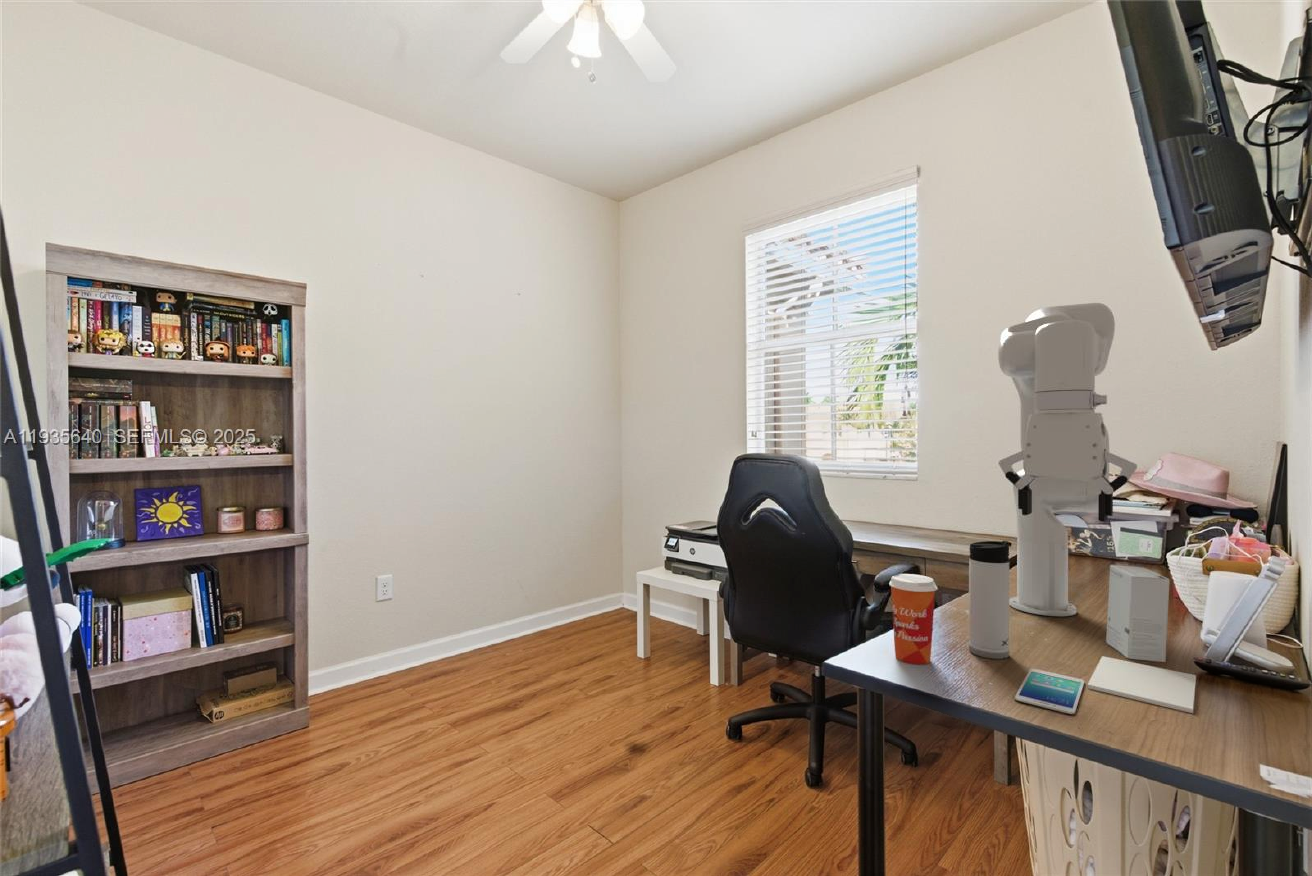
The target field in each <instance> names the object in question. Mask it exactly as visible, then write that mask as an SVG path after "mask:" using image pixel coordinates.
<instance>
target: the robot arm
mask: <svg viewBox="0 0 1312 876" xmlns="http://www.w3.org/2000/svg"><path fill="white" fill-rule="evenodd" d="M1115 322H1116V321H1115V317H1114V314H1113V312H1112V310H1111V308H1109V307H1108V306H1107V305H1106V304H1104V303H1100V302H1089V303H1078V304H1077V303H1076V304H1066V305H1054V306H1047V307H1043V308H1040V309H1037V310H1036V311H1034V312H1032V313H1031V314H1030V315H1029V316H1028V317H1027V318H1026V320H1025V322H1021V323H1018V324H1013V325H1011V326H1009V327H1006V328H1005V329H1004V330H1003V332H1002V333H1001V335H1000V338H999V342H998V350H997V351H998V352H997V356H998V357H997V358H998V365H999V367H1000V369H1001V372H1002V373H1003V374H1004V375H1005V376H1007V377H1010V378H1011V379H1012V381H1013V384H1014V386H1015V389H1016V390H1017V393H1018V397H1019V400H1020V401H1019V402H1020V448H1021V451H1018V452H1015V453H1014V454H1012V455H1010V456H1007V457H1004V458H1002V459H1000V460H999V461H998V465H999V467H1000V469H1001V471H1002V473H1003V474H1004V476H1005V478H1006V479H1007V480H1008V481H1009V482H1010V483H1012V491H1013V497H1014V503H1015V509H1016V511H1015V512H1016V523H1017V524H1016V525H1017V526H1016V533H1017V534H1016V538H1017V541H1016V542H1017V545H1016V547H1017V549H1016V550H1017V551H1016V553H1017V554H1016V555H1017V556H1016V557H1017V558H1016V560H1017V561H1016V564H1017V565H1016V575H1017V576H1016V579H1017V580H1016V588H1017V589H1016V596H1013V597H1009V607H1010V606H1011V607H1012V608H1013V609H1016V610H1018V611H1021V612H1025V613H1029V614H1033V615H1039V616H1040V615H1041V616H1047V617H1071V616H1075V615H1076V614H1077V606H1075V605H1074V604H1072V603H1069V594H1068V592H1069V533H1068V530H1067V527H1066V526H1065V525H1064V524H1063V522H1062V521H1061V520H1060V518H1059V519H1058V517H1057V516H1056V515H1055V514H1054V512H1071V513H1072V512H1076V513H1098V517H1097V518H1098V521H1099V522H1103V523H1105V522H1107V521H1108V517H1109V516H1110V517H1112V516H1113V513H1114V511H1113V510H1114V493H1115V492H1116V491H1118V490H1119V489H1121V488H1122V487H1123V486H1124V485H1126V484H1127V483H1128V482H1129V480H1130V479H1131V478H1132V477H1133V475H1134V473H1135V471H1137V469H1138V465H1137V463H1135V462H1133V461H1130V460H1128V459H1126V458H1123V457H1121V456H1119V455H1116V454H1114V453H1112V452H1110V438H1109V432H1108V429H1107V426H1106V425H1105V423H1104V418H1103V415H1102V412H1101V413H1100V412H1096V411H1095V410H1096V407H1098V406H1101V405H1108V396H1107V395H1108V394H1105V395H1103V394H1102V395H1101V394H1098V393H1096V390H1095V388H1096V387H1095V384H1096V383H1095V382H1096V381H1095V380H1096V376H1099V375H1100V374H1102V373H1103V371H1104V370H1105V369H1106V367H1107V364H1108V360H1109V355H1110V351H1111V348H1112V346H1113V345H1112V344H1113V340H1114V337H1115V332H1116V331H1115V329H1116V328H1115V327H1116V326H1115V325H1116V324H1115ZM1021 461H1022V463H1023V466H1022V467H1023V468H1022V469H1021V470H1019V471H1017V472H1016V471H1015V470H1014V468H1013V465H1014V464H1016V463H1018V462H1021ZM1110 464H1112V465H1115V466H1117V467H1119V468H1120V469H1121V472H1120V473H1119V475H1118V476H1117V477H1116V478H1115V479H1114V480H1111V481H1110Z"/></svg>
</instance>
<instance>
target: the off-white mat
mask: <svg viewBox="0 0 1312 876" xmlns="http://www.w3.org/2000/svg"><path fill="white" fill-rule="evenodd" d="M1196 681H1197V675H1195V674H1191V673H1186V672H1181V671H1178V670H1177V671H1176V670H1171V669H1168V668H1162V667H1156V666H1151V665H1148V664H1147V665H1146V664H1142V663H1137V662H1133V661H1128V660H1124V659H1123V660H1122V659H1119V658H1113V657H1109V656H1103V655H1102V656H1101V658H1100V660H1099V662H1098V663H1097V665H1096V667H1095V669H1094V671H1093V673H1092V675H1091V676H1090V679H1089V681H1088V683H1087V689H1090V690H1094V691H1097V692H1102V693H1106V694H1111V695H1115V696H1119V697H1122V698H1127V699H1131V700H1135V701H1140V702H1144V703H1148V704H1152V705H1156V706H1161V707H1164V708H1167V709H1168V708H1170V709H1173V710H1176V711H1181V712H1186V713H1188V714H1194V707H1195V706H1194V704H1195V695H1196V694H1195V693H1196Z"/></svg>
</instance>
